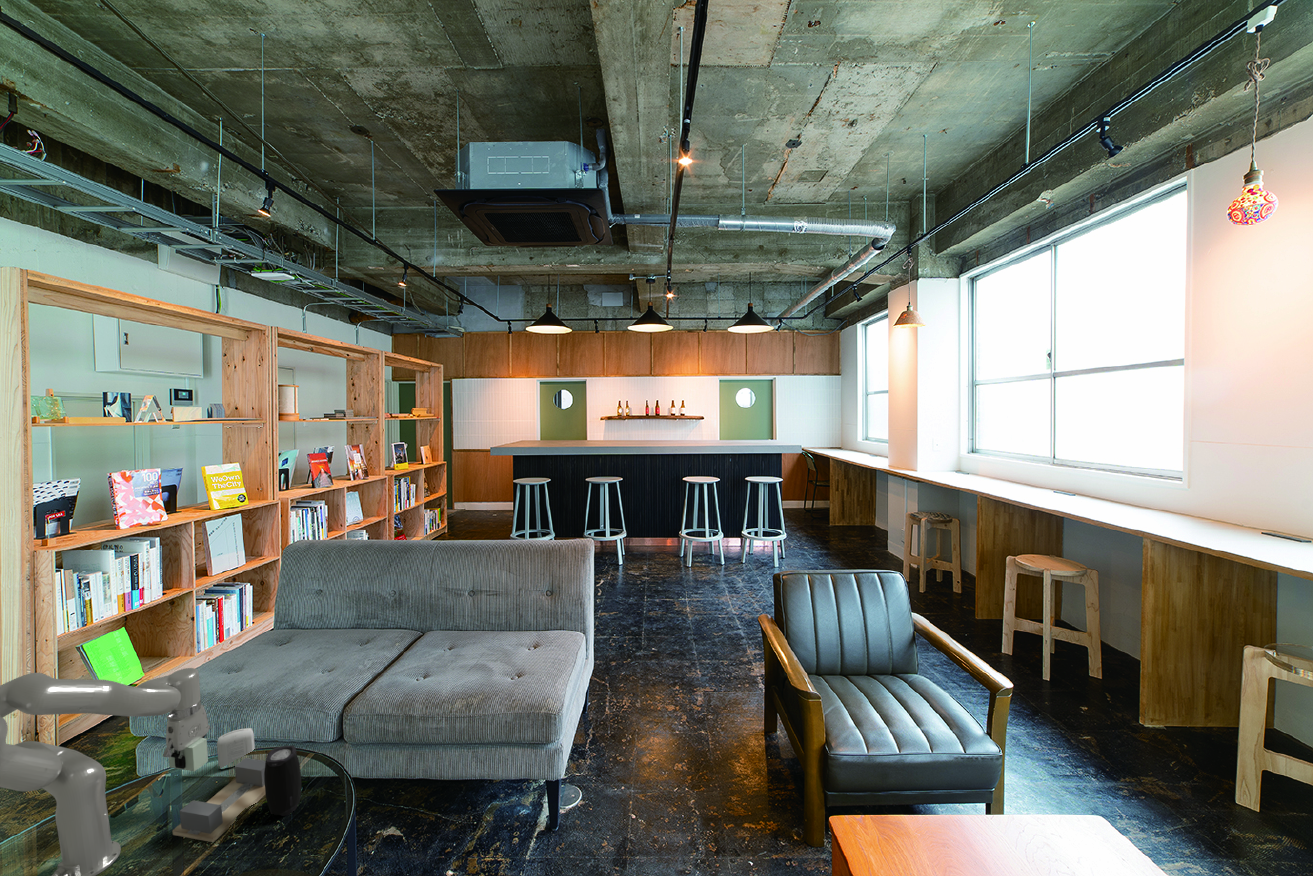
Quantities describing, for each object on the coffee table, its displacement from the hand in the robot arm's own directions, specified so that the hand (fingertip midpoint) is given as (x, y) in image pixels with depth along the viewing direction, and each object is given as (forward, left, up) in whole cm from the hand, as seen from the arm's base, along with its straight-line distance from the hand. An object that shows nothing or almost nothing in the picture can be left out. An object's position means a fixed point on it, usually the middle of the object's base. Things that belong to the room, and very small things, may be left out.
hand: (188, 761), depth 172 cm
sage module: (0, 0, -1) cm, 1 cm away
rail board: (0, -14, -13) cm, 20 cm away
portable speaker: (+2, -32, -14) cm, 35 cm away
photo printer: (+16, 0, -14) cm, 21 cm away
